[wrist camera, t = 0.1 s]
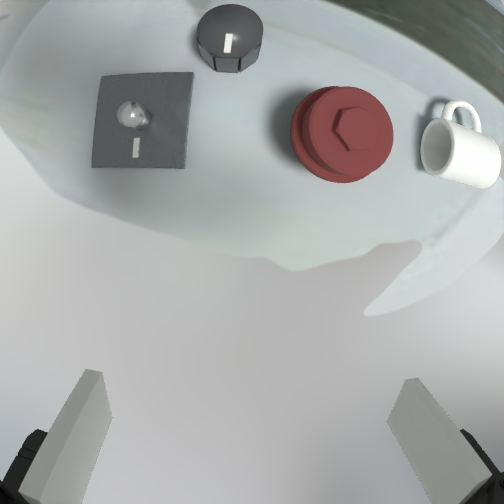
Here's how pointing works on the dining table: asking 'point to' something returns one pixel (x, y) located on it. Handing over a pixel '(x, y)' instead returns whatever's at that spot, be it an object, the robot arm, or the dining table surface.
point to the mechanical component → (341, 133)
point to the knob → (230, 38)
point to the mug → (460, 149)
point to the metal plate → (142, 120)
